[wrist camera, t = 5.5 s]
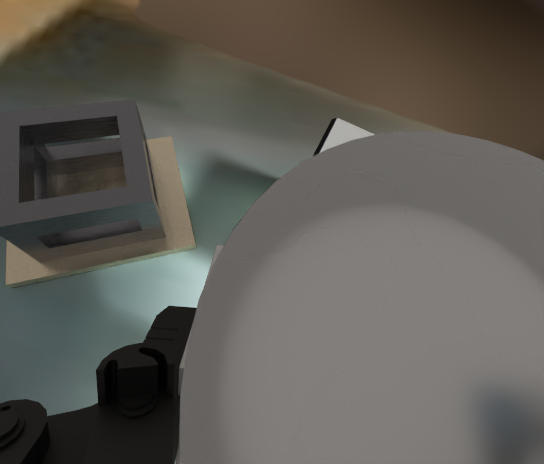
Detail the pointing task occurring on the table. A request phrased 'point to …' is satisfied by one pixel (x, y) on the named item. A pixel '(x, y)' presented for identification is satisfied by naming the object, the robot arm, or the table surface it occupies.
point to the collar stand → (86, 192)
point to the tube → (377, 312)
